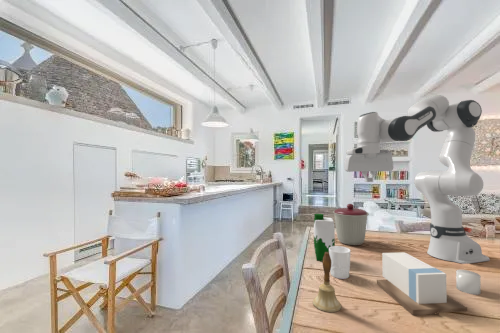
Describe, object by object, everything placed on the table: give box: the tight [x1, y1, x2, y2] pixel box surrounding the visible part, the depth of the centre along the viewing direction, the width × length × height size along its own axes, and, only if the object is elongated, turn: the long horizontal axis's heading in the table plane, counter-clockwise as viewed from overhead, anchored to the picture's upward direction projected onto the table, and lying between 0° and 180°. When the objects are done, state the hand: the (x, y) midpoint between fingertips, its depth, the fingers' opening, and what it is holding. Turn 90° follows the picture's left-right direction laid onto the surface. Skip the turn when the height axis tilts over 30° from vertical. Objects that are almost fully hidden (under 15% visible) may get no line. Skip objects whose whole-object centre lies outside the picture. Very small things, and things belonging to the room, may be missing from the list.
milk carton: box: [313, 213, 336, 262], centre depth 111 cm, size 9×9×20 cm
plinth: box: [376, 279, 468, 316], centre depth 78 cm, size 16×18×2 cm
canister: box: [332, 203, 369, 246], centre depth 133 cm, size 18×18×21 cm
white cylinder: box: [455, 269, 482, 296], centre depth 81 cm, size 6×6×6 cm
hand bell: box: [312, 252, 342, 313], centre depth 75 cm, size 8×8×16 cm
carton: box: [381, 251, 448, 304], centre depth 81 cm, size 9×9×18 cm
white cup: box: [329, 245, 351, 280], centre depth 94 cm, size 8×8×10 cm
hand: (368, 181), depth 106 cm, fingers closed
